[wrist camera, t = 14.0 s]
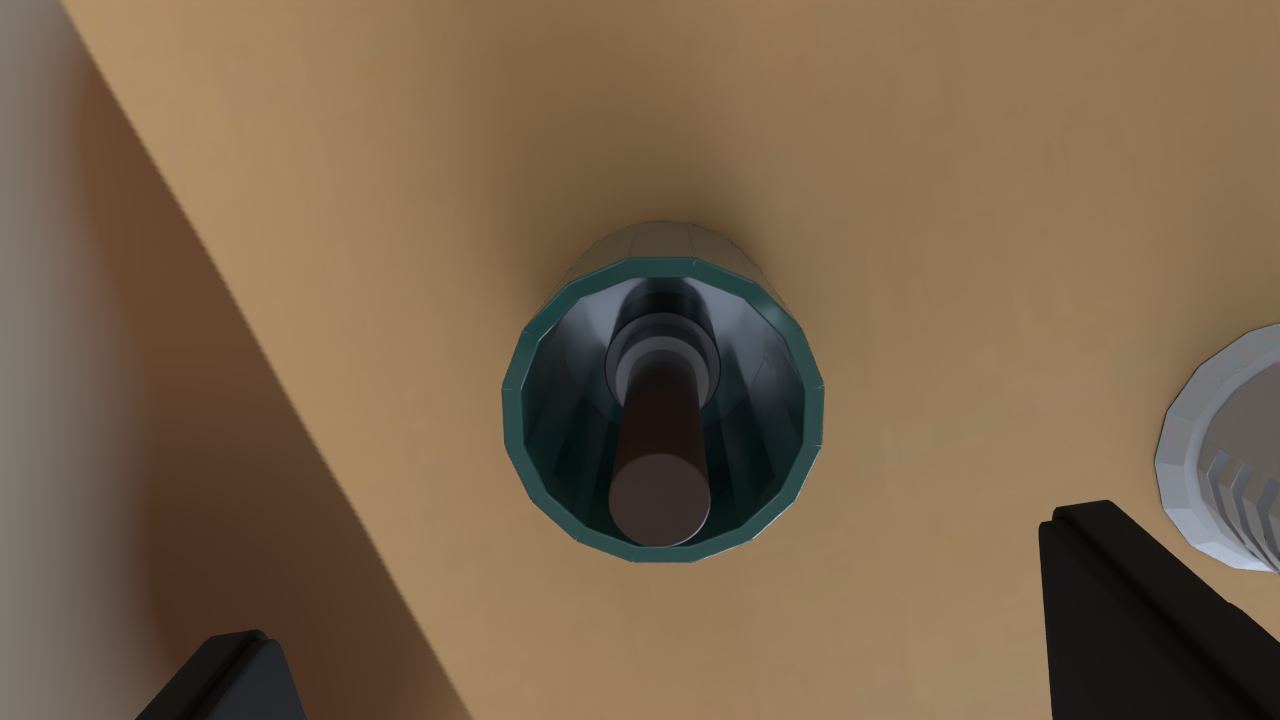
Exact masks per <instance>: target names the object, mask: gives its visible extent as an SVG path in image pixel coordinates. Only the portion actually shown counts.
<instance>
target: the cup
mask: <svg viewBox="0 0 1280 720" xmlns="http://www.w3.org/2000/svg"><path fill="white" fill-rule="evenodd" d="M660 292H667V293H674V294H678V295H681V296H684V297H686V298H688V299H690V300H692V301H693V302H694V303H696V304H697V305H698V306H699V307H700V308H701V309H702V310H703V311H704V312H705V313H706V315H707V316H708V318H709V320H710V322H711V324H712V327H713V330H714V334H715V338H716V342H717V346H718V351H719V355H720V361H721V376H720V381H719V385H718V387H717V390H716V392H715V394H714V396H713V397H712V399H711V400H710V402H709V403H708V404H707V405H706V406H705V407H704V408H703V409H702V410H701V411H700V412H701V421H702V429H703V438H704V446H705V455H706V463H707V472H708V480H709V488H710V498H711V503H710V510H709V514H708V517H707V519H706V521H705V523H704V524H703V526H702V527H701V529H700V530H699V531H698V532H697V533H696V534H695V535H694V536H692V537H691V538H690V539H688V540H686V541H684V542H683V543H680V544H678V545H674V546H670V547H650V546H646V545H643V544H640V543H638V542H636V541H634V540H632V539H630V538H629V537H628V536H626V535H625V534H624V533H623V532H622V531H621V530H620V529H619V528H618V526H617V525H616V523H615V522H614V520H613V518H612V515H611V512H610V507H609V491H610V485H611V479H612V473H613V467H614V461H615V455H616V449H617V443H618V437H619V431H620V425H621V419H622V413H623V409H622V408H621V407H620V406H619V404H618V403H617V402H616V401H615V399H614V398H613V396H612V395H611V393H610V391H609V389H608V386H607V383H606V378H605V368H604V366H605V358H606V353H607V350H608V346H609V343H610V339H611V336H612V332H613V329H614V326H615V323H616V321H617V319H618V317H619V316H620V314H621V313H622V312H623V310H624V309H625V308H626V307H627V306H628V305H630V304H631V303H632V302H634V301H635V300H637V299H638V298H641V297H643V296H645V295H649V294H652V293H660ZM823 385H824V383H823V380H822V377H821V375H820V372H819V370H818V367H817V365H816V362H815V360H814V357H813V355H812V352H811V349H810V347H809V344H808V342H807V339H806V337H805V334H804V332H803V329H802V328H801V326H800V325H799V323H798V322H797V320H796V319H795V318H794V316H793V315H792V313H791V312H790V311H789V309H788V308H787V306H786V305H785V303H784V302H783V301H782V299H781V298H780V296H779V295H778V294H777V292H776V291H775V289H774V288H773V286H772V285H771V284H770V282H769V281H768V279H767V278H766V277H765V275H764V274H763V272H762V271H761V270H760V269H759V268H758V267H757V266H756V265H755V264H754V263H753V262H752V261H751V260H750V259H749V258H748V257H747V255H746V254H745V253H744V252H742V251H741V250H740V249H739V248H738V247H737V246H736V245H735V244H734V243H733V242H732V241H730V240H729V239H726V238H724V237H723V236H721V235H719V234H717V233H715V232H713V231H711V230H709V229H706V228H703V227H700V226H697V225H694V224H689V223H684V222H679V221H651V222H645V223H640V224H635V225H631V226H629V227H626V228H623V229H620V230H618V231H616V232H614V233H612V234H610V235H608V236H606V237H604V238H603V239H601V240H599V241H597V242H596V243H594V244H593V245H592V246H591V247H590V248H589V249H588V250H587V251H586V252H585V253H584V254H583V255H582V256H581V257H580V258H579V260H578V261H577V262H576V263H575V264H574V265H573V266H572V267H571V268H570V269H569V270H568V271H567V272H566V273H565V275H564V276H563V277H562V278H561V280H560V281H559V282H558V284H557V285H556V286H555V288H554V289H553V290H552V292H551V293H550V294H549V296H548V297H547V298H546V299H545V301H544V302H543V303H542V305H541V306H540V307H539V309H538V310H537V311H536V313H535V314H534V315H533V317H532V318H531V319H530V320H529V322H528V323H527V324H526V326H525V327H524V329H523V330H522V332H521V335H520V338H519V340H518V343H517V346H516V348H515V351H514V354H513V357H512V359H511V362H510V365H509V367H508V370H507V373H506V375H505V378H504V381H503V383H502V389H501V391H502V409H503V427H504V445H505V447H506V451H507V453H508V455H509V457H510V459H511V461H512V463H513V465H514V467H515V469H516V471H517V473H518V475H519V477H520V479H521V481H522V483H523V485H524V487H525V489H526V491H527V494H528V496H529V498H530V499H531V500H532V502H533V503H534V504H535V505H536V506H537V507H539V508H540V509H541V510H542V511H543V512H544V513H545V514H546V515H548V516H549V517H550V518H551V519H552V520H553V521H554V522H555V523H556V524H558V525H559V526H560V527H561V528H562V529H563V530H564V531H565V532H567V533H568V534H569V535H570V536H571V537H572V538H573V539H574V540H577V542H579V543H582V544H585V545H587V546H590V547H593V548H595V549H598V550H601V551H603V552H606V553H608V554H611V555H614V556H616V557H619V558H622V559H624V560H627V561H630V562H635V563H692V562H693V561H694V562H697V561H700V560H702V559H705V558H708V557H711V556H713V555H716V554H719V553H721V552H724V551H727V550H729V549H732V548H735V547H737V546H740V545H743V544H745V543H748V542H750V540H753V539H754V538H755V537H756V536H757V535H758V534H759V533H760V532H762V531H763V530H764V529H765V528H766V527H767V526H768V525H769V524H771V523H772V522H773V521H774V520H775V519H776V518H777V517H778V516H779V515H781V514H782V513H783V512H784V511H785V510H786V509H787V508H788V507H790V506H791V505H792V504H793V503H794V502H795V500H796V499H797V497H798V495H799V493H800V491H801V489H802V487H803V485H804V483H805V481H806V479H807V477H808V475H809V473H810V470H811V468H812V466H813V464H814V462H815V460H816V458H817V456H818V454H819V452H820V450H821V446H822V437H823V413H824V389H825V388H824V386H823Z"/></svg>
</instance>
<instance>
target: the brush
mask: <svg viewBox="0 0 1280 720" xmlns="http://www.w3.org/2000/svg"><path fill="white" fill-rule="evenodd" d="M604 368H605V378H606V383H607V386H608V389H609V391H610V393H611V395H612V396H613V398H614V399H615V401H616V402H617V403H618V404H619V406H620V407H621V408H622V409H623V413H622V419H621V425H620V431H619V437H618V443H617V449H616V455H615V461H614V467H613V473H612V479H611V485H610V491H609V507H610V512H611V515H612V518H613V520H614V522H615V523H616V525H617V526H618V528H619V529H620V530H621V531H622V532H623V533H624V534H625V535H626V536H628V537H629V538H630V539H632V540H634V541H636V542H638V543H640V544H643V545H646V546H650V547H670V546H674V545H678V544H680V543H683V542H684V541H686V540H688V539H690V538H691V537H692V536H694V535H695V534H696V533H697V532H698V531H699V530H700V529H701V527H702V526H703V524H704V523H705V521H706V519H707V517H708V514H709V510H710V503H711V498H710V488H709V480H708V472H707V463H706V455H705V446H704V438H703V429H702V421H701V412H700V411H701V410H702V409H703V408H704V407H705V406H706V405H707V404H708V403H709V402H710V400H711V399H712V397H713V396H714V394H715V392H716V390H717V387H718V385H719V381H720V376H721V361H720V355H719V351H718V346H717V342H716V338H715V334H714V330H713V327H712V324H711V322H710V320H709V318H708V316H707V315H706V313H705V312H704V311H703V310H702V309H701V308H700V307H699V306H698V305H697V304H696V303H694V302H693V301H692V300H690V299H688V298H686V297H684V296H681V295H678V294H674V293H667V292H660V293H652V294H649V295H645V296H643V297H641V298H638V299H637V300H635V301H634V302H632V303H631V304H630V305H628V306H627V307H626V308H625V309H624V310H623V312H622V313H621V314H620V316H619V317H618V319H617V321H616V323H615V326H614V329H613V332H612V336H611V339H610V343H609V346H608V350H607V353H606V358H605V366H604Z"/></svg>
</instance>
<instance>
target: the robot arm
mask: <svg viewBox="0 0 1280 720" xmlns="http://www.w3.org/2000/svg"><path fill="white" fill-rule="evenodd" d="M1039 548H1040V562H1041V575H1042V588H1043V601H1044V614H1045V628H1046V641H1047V654H1048V667H1049V680H1050V694H1051V707H1052V717H1053V720H1280V643H1279V642H1278V641H1277V640H1276V639H1275V638H1274V637H1272V636H1271V635H1270V634H1269V633H1268V632H1267V631H1266V630H1264V629H1263V628H1262V627H1261V626H1260V625H1259V624H1257V623H1256V622H1255V621H1254V620H1253V619H1252V618H1250V617H1249V616H1248V615H1247V614H1246V613H1245V612H1243V611H1242V610H1241V609H1239V608H1238V607H1236V606H1235V605H1233V604H1231V603H1228V602H1227V601H1226V600H1224V599H1223V598H1222V597H1221V596H1220V595H1219V594H1218V593H1216V592H1215V591H1214V590H1213V589H1212V588H1211V587H1210V586H1208V585H1207V584H1206V583H1205V582H1204V581H1203V580H1202V579H1200V578H1199V577H1198V576H1197V575H1196V574H1195V573H1193V572H1192V571H1191V570H1190V569H1189V568H1188V567H1187V566H1185V565H1184V564H1183V563H1182V562H1181V561H1180V560H1179V559H1177V558H1176V557H1175V556H1174V555H1173V554H1172V553H1171V552H1169V551H1168V550H1167V549H1166V548H1165V547H1164V546H1162V545H1161V544H1160V543H1159V542H1158V541H1157V540H1156V539H1154V538H1153V537H1152V536H1151V535H1150V534H1149V533H1148V532H1146V531H1145V530H1144V529H1143V528H1142V527H1141V526H1140V525H1138V524H1137V523H1136V522H1135V521H1134V520H1133V519H1131V518H1130V517H1129V516H1128V515H1127V514H1126V513H1125V512H1123V511H1122V510H1121V509H1120V508H1119V507H1118V506H1117V505H1115V504H1114V503H1113V502H1111V501H1109V500H1101V501H1094V502H1088V503H1081V504H1075V505H1068V506H1061V507H1056V509H1055V510H1054V512H1053V516H1052V521H1046V522H1042V523H1041V524H1040V526H1039ZM135 720H307V719H306V716H305V713H304V711H303V708H302V705H301V702H300V699H299V696H298V693H297V690H296V687H295V684H294V682H293V678H292V676H291V672H290V670H289V667H288V664H287V661H286V658H285V655H284V652H283V649H282V647H281V645H280V644H279V643H278V641H276V640H274V639H268V637H267V636H266V635H265V634H264V633H263V632H262V631H260V630H257V629H256V630H249V631H244V632H237V633H230V634H223V635H217V636H213V637H210V638H209V639H208V640H206V641H205V642H204V643H203V644H202V645H201V646H200V648H199V649H198V650H197V651H196V652H195V653H194V654H193V655H192V656H191V658H190V659H189V660H188V661H187V662H186V663H185V664H184V665H183V667H182V668H181V669H180V670H179V671H178V672H177V673H176V674H175V676H174V677H173V678H172V679H171V680H170V681H169V682H168V683H167V684H166V686H165V687H164V688H163V689H162V690H161V691H160V692H159V693H158V694H157V696H156V697H155V698H154V699H153V700H152V701H151V702H150V703H149V705H148V706H147V707H146V708H145V709H144V710H143V711H142V712H141V713H140V715H139V716H138V717H137V718H136V719H135Z"/></svg>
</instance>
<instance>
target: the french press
mask: <svg viewBox="0 0 1280 720" xmlns="http://www.w3.org/2000/svg"><path fill="white" fill-rule="evenodd" d="M1155 467H1156V473H1157V478H1158V484H1159V489H1160V495H1161V500H1162V505H1163V509H1164V511H1165V512H1166V513H1167V515H1168V516H1169V517H1170V519H1171V520H1172V521H1173V523H1174V524H1175V525H1176V527H1177V528H1178V529H1179V531H1180V532H1181V533H1182V535H1183V536H1184V537H1185V538H1186V540H1187V541H1188V542H1189V544H1190V545H1191V546H1192V547H1194V548H1196V549H1198V550H1200V551H1202V552H1204V553H1206V554H1208V555H1210V556H1212V557H1213V558H1215V559H1217V560H1219V561H1221V562H1223V563H1225V564H1227V565H1229V566H1231V567H1233V568H1239V569H1250V570H1261V571H1271V572H1275V573H1276V574H1278V575H1279V576H1280V323H1278V324H1275V325H1271V326H1268V327H1264V328H1260V329H1257V330H1253V331H1250V332H1248V333H1246V334H1245V335H1244V336H1242V337H1241V338H1239V339H1238V340H1236V341H1235V342H1233V343H1232V344H1231V345H1229V346H1228V347H1226V348H1225V349H1223V350H1222V351H1221V352H1219V353H1218V354H1216V355H1215V356H1213V357H1212V358H1211V359H1209V360H1208V361H1206V362H1205V363H1203V364H1202V365H1200V367H1199V368H1198V369H1197V371H1196V372H1195V374H1194V375H1193V376H1192V378H1191V379H1190V381H1189V382H1188V383H1187V385H1186V386H1185V388H1184V389H1183V390H1182V392H1181V393H1180V394H1179V396H1178V397H1177V399H1176V400H1175V401H1174V403H1173V404H1172V406H1171V407H1170V408H1169V410H1168V411H1167V414H1166V418H1165V422H1164V426H1163V430H1162V434H1161V438H1160V442H1159V446H1158V450H1157V454H1156V458H1155ZM1278 572H1279V573H1278Z"/></svg>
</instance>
